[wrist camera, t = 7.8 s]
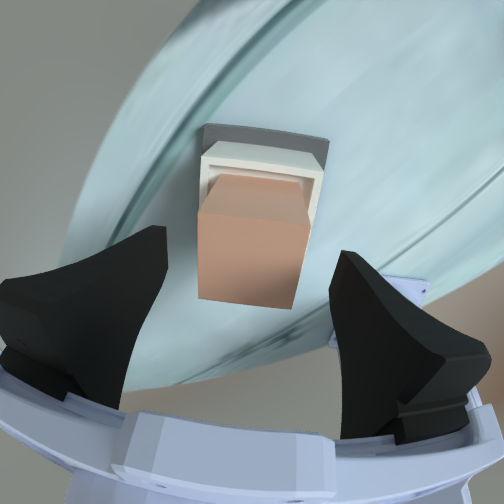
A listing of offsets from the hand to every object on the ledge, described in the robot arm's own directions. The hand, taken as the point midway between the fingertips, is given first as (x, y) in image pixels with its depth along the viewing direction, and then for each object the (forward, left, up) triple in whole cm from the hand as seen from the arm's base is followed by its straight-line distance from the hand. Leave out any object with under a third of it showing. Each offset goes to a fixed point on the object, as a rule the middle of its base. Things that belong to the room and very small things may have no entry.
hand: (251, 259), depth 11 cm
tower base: (0, 0, -9) cm, 9 cm away
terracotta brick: (0, 0, -4) cm, 4 cm away
